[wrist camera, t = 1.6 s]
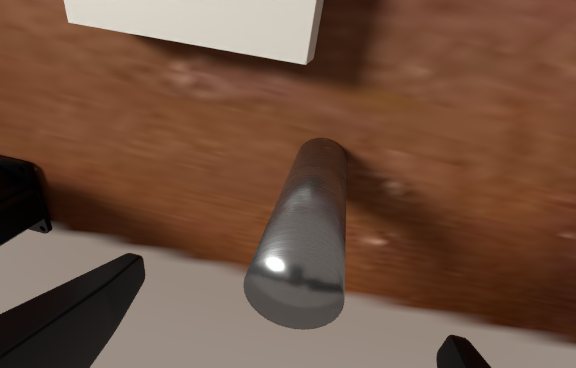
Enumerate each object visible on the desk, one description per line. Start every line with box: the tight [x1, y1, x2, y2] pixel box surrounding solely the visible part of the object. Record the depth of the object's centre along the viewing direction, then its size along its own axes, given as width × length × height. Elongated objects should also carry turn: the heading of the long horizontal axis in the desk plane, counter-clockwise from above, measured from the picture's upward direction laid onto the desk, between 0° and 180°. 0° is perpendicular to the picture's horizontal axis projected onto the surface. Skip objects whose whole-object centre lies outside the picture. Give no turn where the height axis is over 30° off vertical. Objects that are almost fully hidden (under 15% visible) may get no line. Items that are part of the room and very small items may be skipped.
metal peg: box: [244, 138, 347, 329], centre depth 13 cm, size 3×3×10 cm
